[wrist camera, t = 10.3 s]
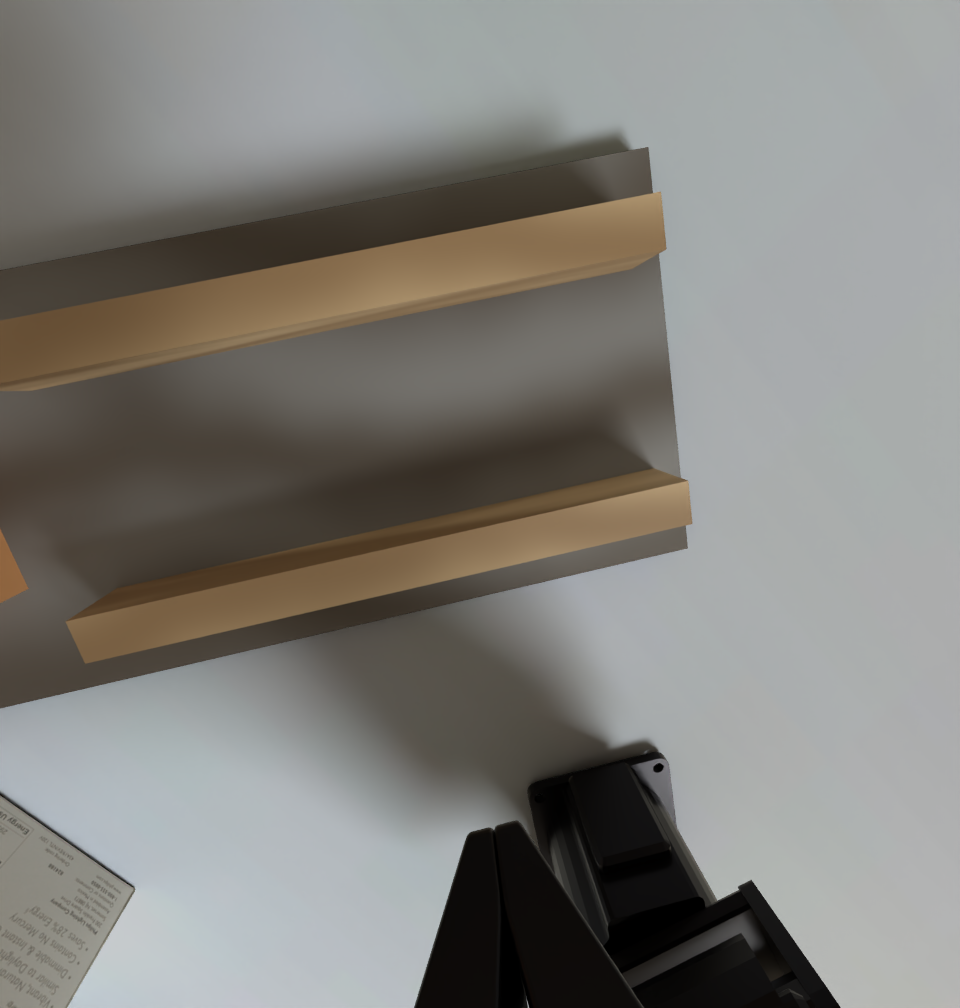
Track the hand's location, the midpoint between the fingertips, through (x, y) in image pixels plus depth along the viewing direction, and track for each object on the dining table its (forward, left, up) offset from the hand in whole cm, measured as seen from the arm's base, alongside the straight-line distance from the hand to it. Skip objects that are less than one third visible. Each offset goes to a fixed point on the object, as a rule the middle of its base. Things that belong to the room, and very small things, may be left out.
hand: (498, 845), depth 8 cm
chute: (+6, +7, -12) cm, 15 cm away
